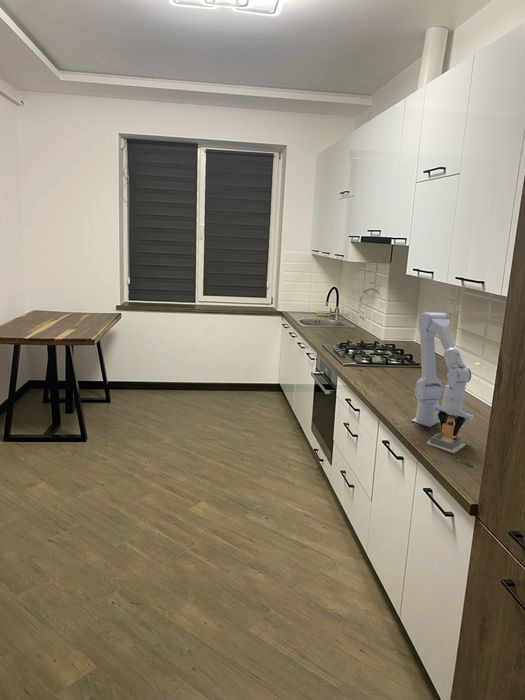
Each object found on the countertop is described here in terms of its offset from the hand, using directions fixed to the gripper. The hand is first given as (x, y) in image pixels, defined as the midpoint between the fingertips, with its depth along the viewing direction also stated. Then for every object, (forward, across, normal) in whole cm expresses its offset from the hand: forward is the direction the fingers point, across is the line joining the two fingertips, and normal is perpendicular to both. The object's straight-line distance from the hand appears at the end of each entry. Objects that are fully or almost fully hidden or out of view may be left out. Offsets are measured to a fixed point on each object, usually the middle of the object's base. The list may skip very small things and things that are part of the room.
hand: (449, 433), depth 191 cm
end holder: (+1, +2, -8) cm, 9 cm away
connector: (+1, 0, +1) cm, 2 cm away
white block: (+2, -11, +28) cm, 30 cm away
